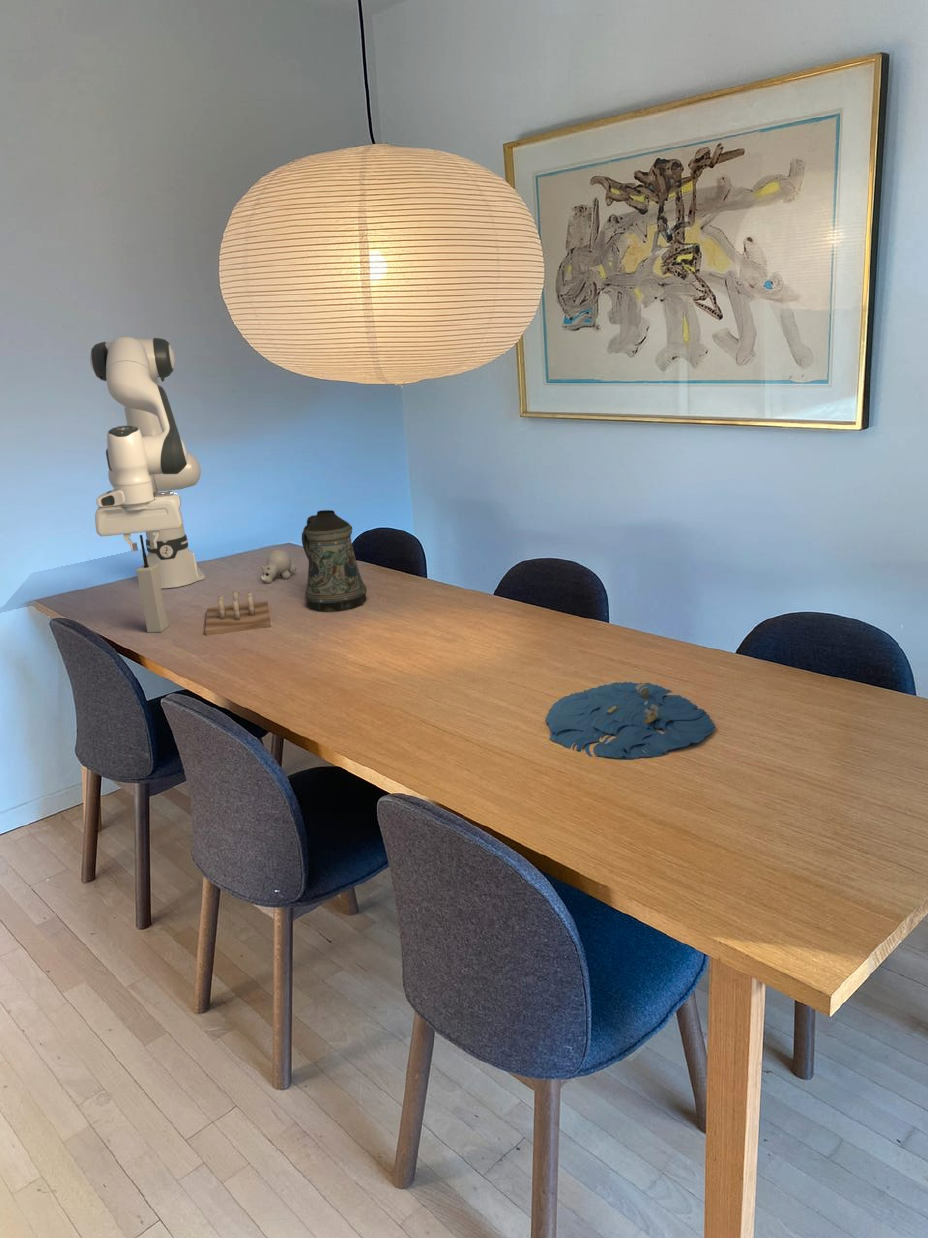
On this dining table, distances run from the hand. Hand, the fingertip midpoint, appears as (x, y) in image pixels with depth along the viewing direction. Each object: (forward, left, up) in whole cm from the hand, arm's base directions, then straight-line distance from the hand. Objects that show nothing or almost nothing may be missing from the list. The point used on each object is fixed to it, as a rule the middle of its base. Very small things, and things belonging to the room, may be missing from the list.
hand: (144, 549), depth 222 cm
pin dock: (0, +20, -21) cm, 29 cm away
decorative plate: (+94, +88, -22) cm, 131 cm away
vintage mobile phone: (0, 0, -21) cm, 21 cm away
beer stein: (-4, +45, -21) cm, 50 cm away
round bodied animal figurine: (-36, +32, -21) cm, 52 cm away
